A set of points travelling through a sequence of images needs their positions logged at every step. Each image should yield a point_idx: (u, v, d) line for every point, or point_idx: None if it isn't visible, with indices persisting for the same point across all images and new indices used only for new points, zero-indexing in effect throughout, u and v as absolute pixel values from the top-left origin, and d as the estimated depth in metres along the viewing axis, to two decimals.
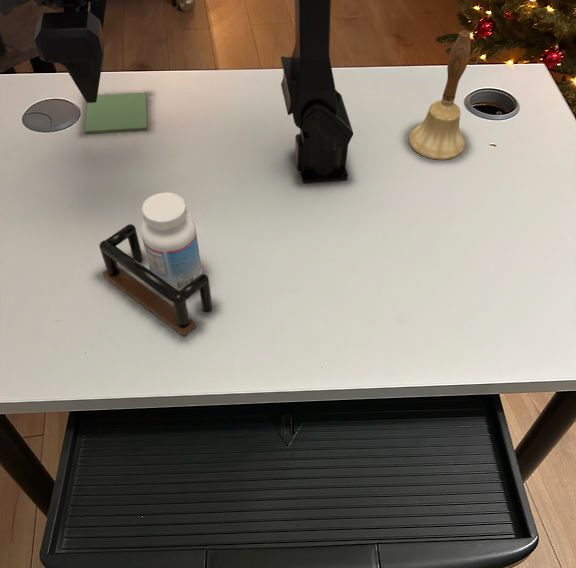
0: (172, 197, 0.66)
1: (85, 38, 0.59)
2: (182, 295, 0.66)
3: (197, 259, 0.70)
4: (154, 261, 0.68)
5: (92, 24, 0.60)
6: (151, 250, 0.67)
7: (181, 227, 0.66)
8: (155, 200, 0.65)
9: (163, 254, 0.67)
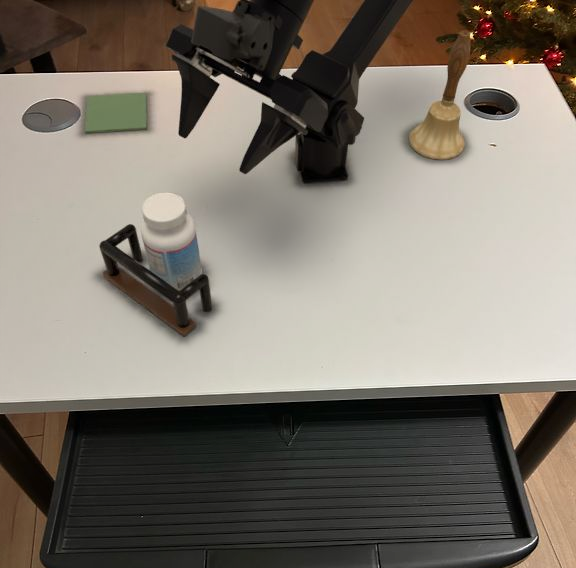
0: (172, 197, 0.66)
1: (326, 111, 0.62)
2: (182, 295, 0.66)
3: (197, 259, 0.70)
4: (154, 261, 0.68)
5: None
6: (151, 250, 0.67)
7: (181, 227, 0.66)
8: (155, 200, 0.65)
9: (163, 254, 0.67)
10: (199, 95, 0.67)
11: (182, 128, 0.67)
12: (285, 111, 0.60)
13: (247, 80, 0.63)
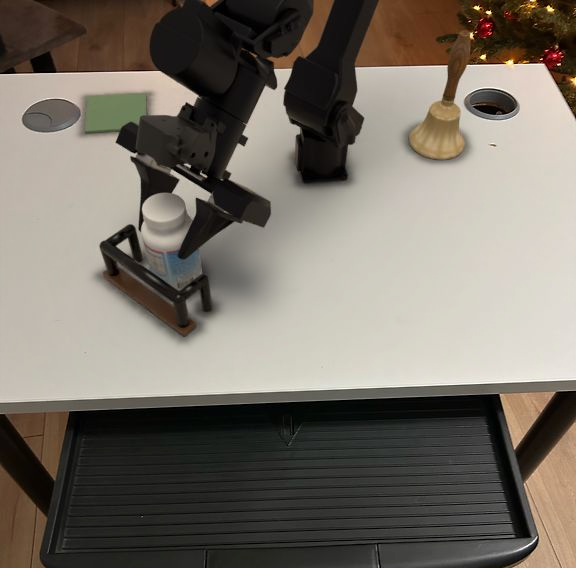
0: (172, 197, 0.66)
1: (269, 209, 0.64)
2: (182, 295, 0.66)
3: (197, 259, 0.70)
4: (154, 261, 0.68)
5: None
6: (151, 250, 0.67)
7: (181, 227, 0.66)
8: (155, 200, 0.65)
9: (163, 254, 0.67)
10: (158, 193, 0.68)
11: None
12: None
13: (194, 177, 0.65)
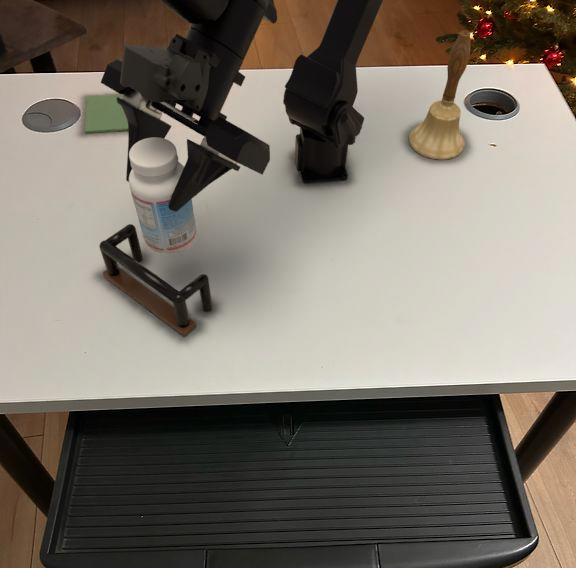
0: (162, 142, 0.60)
1: (268, 153, 0.58)
2: (182, 295, 0.66)
3: (190, 213, 0.65)
4: (143, 214, 0.63)
5: None
6: (140, 201, 0.61)
7: (172, 175, 0.60)
8: (143, 145, 0.60)
9: (152, 205, 0.61)
10: None
11: None
12: (212, 148, 0.57)
13: (185, 119, 0.59)
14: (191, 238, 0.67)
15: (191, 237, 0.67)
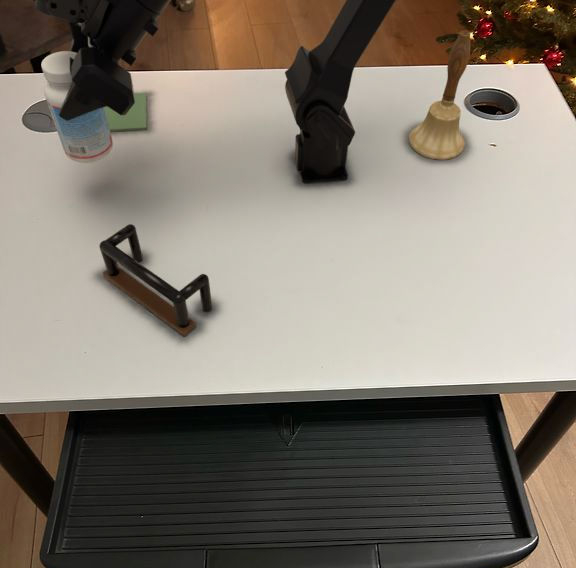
0: None
1: (126, 97, 0.62)
2: (182, 295, 0.66)
3: (91, 131, 0.72)
4: (51, 114, 0.71)
5: (132, 88, 0.64)
6: (46, 100, 0.70)
7: None
8: (63, 55, 0.68)
9: (51, 107, 0.69)
10: None
11: None
12: None
13: (97, 46, 0.66)
14: (92, 155, 0.74)
15: (92, 154, 0.74)
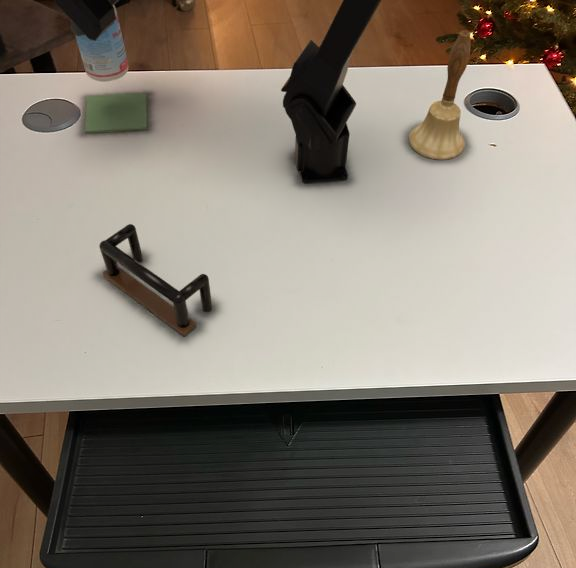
0: None
1: (92, 23, 0.71)
2: (182, 295, 0.66)
3: (97, 53, 0.81)
4: None
5: (106, 19, 0.72)
6: None
7: None
8: None
9: None
10: None
11: None
12: None
13: None
14: (98, 74, 0.84)
15: (98, 74, 0.84)
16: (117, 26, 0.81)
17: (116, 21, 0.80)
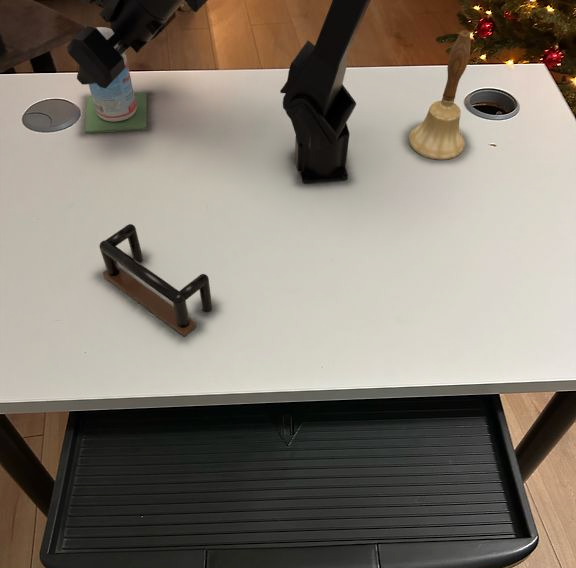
0: (110, 36, 0.82)
1: (103, 74, 0.76)
2: (182, 295, 0.66)
3: (108, 97, 0.87)
4: None
5: (116, 69, 0.77)
6: None
7: None
8: (104, 30, 0.83)
9: None
10: None
11: None
12: None
13: None
14: (108, 115, 0.89)
15: (108, 115, 0.89)
16: (126, 72, 0.86)
17: (126, 67, 0.86)
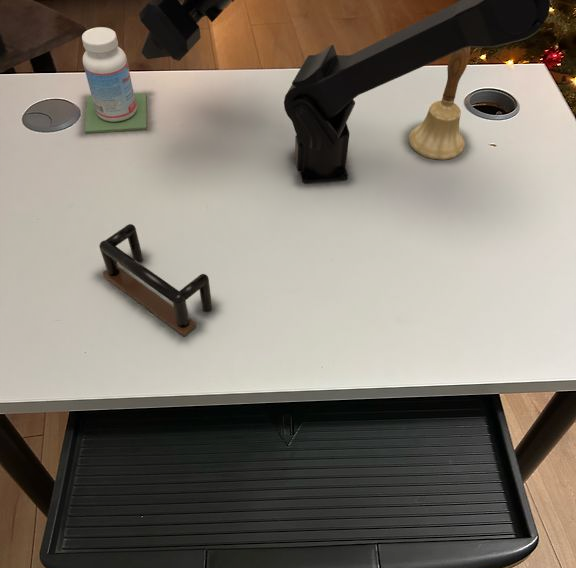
0: (110, 36, 0.82)
1: (179, 44, 0.68)
2: (182, 295, 0.66)
3: (108, 97, 0.87)
4: None
5: (192, 39, 0.69)
6: None
7: (96, 57, 0.83)
8: (104, 30, 0.83)
9: (84, 67, 0.86)
10: None
11: None
12: None
13: None
14: (108, 115, 0.89)
15: (108, 115, 0.89)
16: (126, 72, 0.86)
17: (126, 67, 0.86)
